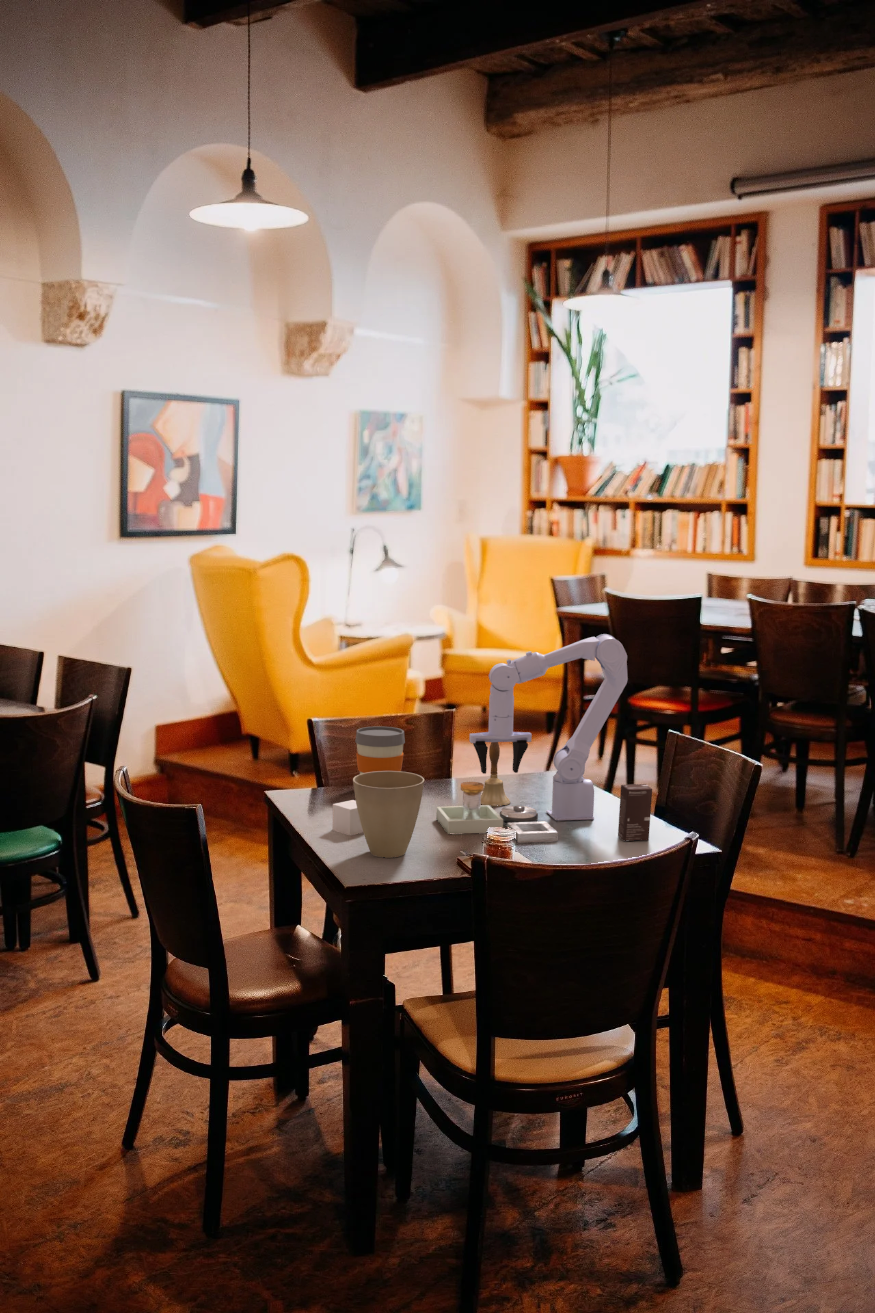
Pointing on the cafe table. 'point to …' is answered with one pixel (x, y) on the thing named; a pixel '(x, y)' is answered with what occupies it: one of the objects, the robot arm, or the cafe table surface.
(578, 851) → the cafe table surface
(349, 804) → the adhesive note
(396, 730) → the reusable coffee cup
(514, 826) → the tensioner bracket
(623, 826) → the box
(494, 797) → the hand bell
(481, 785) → the jar with gold lid
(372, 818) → the plant pot
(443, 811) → the parts tray
